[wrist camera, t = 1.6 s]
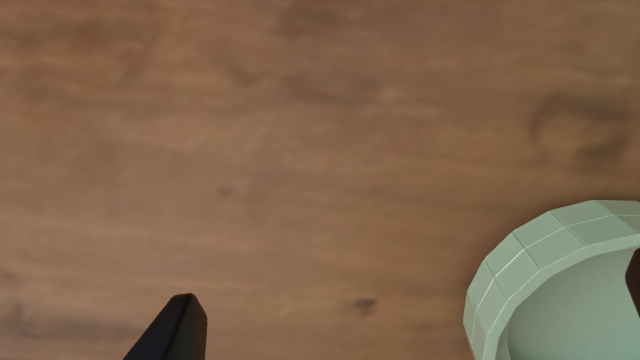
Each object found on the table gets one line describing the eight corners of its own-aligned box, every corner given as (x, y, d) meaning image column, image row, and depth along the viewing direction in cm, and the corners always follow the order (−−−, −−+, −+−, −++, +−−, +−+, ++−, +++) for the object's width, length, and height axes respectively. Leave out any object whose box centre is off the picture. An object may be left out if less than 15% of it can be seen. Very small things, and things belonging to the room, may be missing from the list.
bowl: (747, 334, 25) (827, 398, 21) (528, 427, 28) (559, 499, 24) (650, 146, 22) (720, 176, 18) (417, 275, 25) (430, 326, 21)
